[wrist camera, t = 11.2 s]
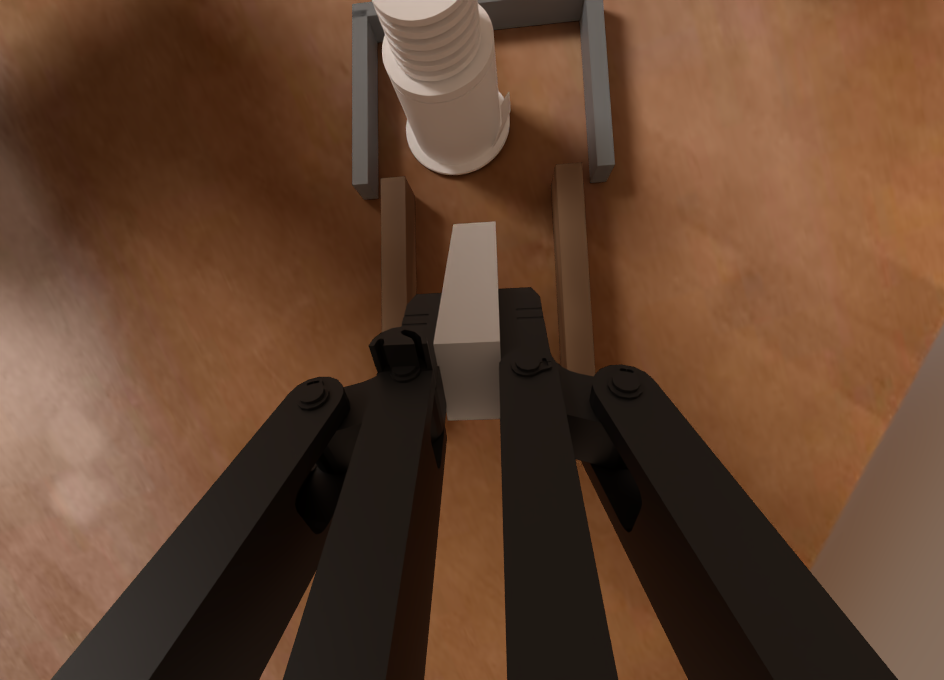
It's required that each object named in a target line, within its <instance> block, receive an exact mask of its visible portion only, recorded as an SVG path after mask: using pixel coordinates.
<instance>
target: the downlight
mask: <svg viewBox="0 0 944 680" xmlns="http://www.w3.org/2000/svg"><path fill="white" fill-rule="evenodd" d="M372 2H373V5H374V7H375V10H376V13H377V15H378V17H379V20H380V23H381V25H382V28H383V30H384V33H385V36H384V40H383V45H382V58H383V63H384V66H385V68H386V71H387V73H388V75H389V78H390V80H391V82H392V85H393V87H394V89H395V92H396V94H397V96H398V98H399V101H400V103H401V105H402V108H403V110H404V112H405V115H406V117H407V124H406V136H407V141H408V144H409V147H410V149H411V151H412V153H413V155H414V156H415V157H416V159H417V160H418V161H419V162H420V163H421V164H422V165H424V166H425V167H426V168H428V169H430V170H432V171H434V172H437V173H440V174H445V175H461V174H467V173H470V172H473V171H476V170H478V169H480V168H482V167H483V166H485V165H486V164H488V163H489V162H490V161H491V160H493V159H494V158H495V157H496V156H497V154H498V153H499V152H500V150H501V149H502V147H503V146H504V144H505V142H506V139H507V136H508V133H509V127H510V116H509V113H510V111H511V107H510V95H509V92H508V93H507V95H506V96H505V98H503V96H502V95H501V93H500V92H499V91H498V82H497V69H496V57H495V45H494V32H493V26H492V23H491V20H490V18H489V16H488V14H487V13H486V11H485V10H484V9H483V8H482V7H481V6H480V5H479V4H478V0H372Z"/></svg>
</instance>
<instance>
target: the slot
mask: <svg viewBox="0 0 944 680" xmlns="http://www.w3.org/2000/svg"><path fill="white" fill-rule="evenodd" d="M551 197H552V215H553V234H554V252H555V270H556V288H557V307H558V325H559V343H560V362H561V366H562V367H563V368H565V369H567V370H569V371H572V372H576V373H579V374H584V375H589V376H594V375H595V359H594V344H593V328H592V312H591V297H590V281H589V265H588V249H587V234H586V218H585V202H584V187H583V171H582V162H581V163H568V164H556V166H555V170H554V174H553V179H552V183H551ZM381 282H382V332H384V331H386V330H389V329H391V328H396V327H401V326H402V320H403V317H404V313H405V310H406V306H407V304H408V303H409V302H410V301H411V300H412V298H413V297H414V296H415V295H416V240H415V195H414V193H413V191H412V189H411V187H410V185H409V183H408V181H407V180H406V178H405V176H403V177H391V178H381Z"/></svg>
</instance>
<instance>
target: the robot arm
mask: <svg viewBox="0 0 944 680" xmlns="http://www.w3.org/2000/svg"><path fill="white" fill-rule="evenodd" d="M369 348H370V351H371V354H372V357H373V360H374V363H375V366H376V369H377V372H378V373H377V376H376V377H374V378H372V379H370V380H367V381H364V382H361V383H358V384H354V385H351V386H347V387H343V385H342V384H341V383H340V382H339V381H338V380H337V379H334V378H331V377H317V378H313V379H310V380H307V381H305V382H303V383H301V384H300V385H298V386H297V387H295V388H294V389H293V390H292V391H291V392H290V393H289V394H288V395H287V396H286V398H285V399H284V400H283V401H282V402H281V404H280V405H279V406H278V407H277V408H276V410H275V411H274V412H273V413H272V414H271V416H270V417H269V418H268V419H267V420H266V422H265V423H264V424H263V425H262V426H261V428H260V429H259V430H258V431H257V432H256V434H255V435H254V436H253V437H252V438H251V440H250V441H249V442H248V443H247V444H246V446H245V447H244V448H243V449H242V450H241V452H240V453H239V454H238V455H237V456H236V458H235V459H234V460H233V461H232V462H231V464H230V465H229V466H228V467H227V468H226V470H225V471H224V472H223V473H222V475H221V476H220V477H219V478H218V479H217V481H216V482H215V483H214V484H213V485H212V487H211V488H210V489H209V490H208V491H207V493H206V494H205V495H204V496H203V497H202V499H201V500H200V501H199V502H198V503H197V505H196V506H195V507H194V508H193V509H192V511H191V512H190V513H189V514H188V515H187V517H186V518H185V519H184V520H183V521H182V523H181V524H180V525H179V526H178V527H177V529H176V530H175V531H174V532H173V533H172V535H171V536H170V537H169V538H168V539H167V541H166V542H165V543H164V544H163V545H162V547H161V548H160V549H159V550H158V551H157V553H156V554H155V555H154V556H153V557H152V559H151V560H150V561H149V562H148V563H147V565H146V566H145V567H144V568H143V569H142V571H141V572H140V573H139V574H138V575H137V577H136V578H135V579H134V580H133V581H132V583H131V584H130V585H129V586H128V587H127V589H126V590H125V591H124V592H123V594H122V595H121V596H120V597H119V598H118V600H117V601H116V602H115V603H114V604H113V606H112V607H111V608H110V609H109V610H108V612H107V613H106V614H105V615H104V616H103V618H102V619H101V620H100V621H99V622H98V624H97V625H96V626H95V627H94V628H93V630H92V631H91V632H90V633H89V634H88V636H87V637H86V638H85V639H84V640H83V642H82V643H81V644H80V645H79V646H78V648H77V649H76V650H75V651H74V652H73V654H72V655H71V656H70V657H69V658H68V660H67V661H66V662H65V663H64V664H63V666H62V667H61V668H60V669H59V670H58V672H57V673H56V674H55V675H54V676H53V678H52V679H51V680H259V679H260V677H261V675H262V673H263V671H264V669H265V667H266V665H267V663H268V662H269V660H270V658H271V656H272V654H273V652H274V650H275V648H276V646H277V644H278V642H279V641H280V639H281V637H282V635H283V633H284V631H285V629H286V627H287V625H288V623H289V621H290V619H291V618H292V616H293V614H294V612H295V610H296V608H297V606H298V604H299V602H300V600H301V598H302V597H303V595H304V593H305V591H306V589H307V587H308V585H309V583H310V581H311V579H312V577H313V576H314V574H315V572H316V574H315V577H314V580H313V583H312V587H311V590H310V593H309V596H308V600H307V603H306V606H305V609H304V613H303V616H302V619H301V622H300V626H299V629H298V632H297V635H296V639H295V642H294V645H293V648H292V652H291V655H290V658H289V661H288V665H287V668H286V671H285V674H284V678H283V680H424V675H425V665H426V654H427V643H428V633H429V622H430V612H431V601H432V591H433V580H434V569H435V559H436V548H437V538H438V527H439V517H440V506H441V495H442V485H443V474H444V464H445V453H446V443H447V435H446V429H445V416H446V412H447V418H448V420H484V419H500V430H501V467H502V504H503V541H504V578H505V615H506V652H507V680H618V676H617V671H616V666H615V661H614V656H613V650H612V645H611V640H610V635H609V630H608V625H607V620H606V614H605V609H604V604H603V599H602V594H601V589H600V584H599V579H598V573H597V568H596V563H595V558H594V553H593V548H592V543H591V537H590V532H589V527H588V522H587V517H586V512H585V507H584V502H583V496H582V491H581V486H580V481H579V476H578V471H577V466H576V461H575V459H577V460H581V461H582V464H583V466H584V468H585V470H586V472H587V474H588V476H589V478H590V480H591V482H592V484H593V486H594V488H595V490H596V492H597V495H598V497H599V499H600V501H601V503H602V505H603V507H604V509H605V511H606V513H607V515H608V517H609V519H610V521H611V523H612V525H613V527H614V529H615V531H616V533H617V535H618V537H619V539H620V541H621V543H622V545H623V547H624V550H625V552H626V554H627V556H628V558H629V560H630V562H631V564H632V566H633V568H634V570H635V572H636V574H637V576H638V578H639V580H640V582H641V584H642V586H643V588H644V590H645V592H646V594H647V596H648V598H649V600H650V602H651V605H652V607H653V609H654V611H655V613H656V615H657V617H658V619H659V621H660V623H661V625H662V627H663V629H664V631H665V633H666V635H667V637H668V639H669V641H670V643H671V645H672V647H673V649H674V651H675V653H676V655H677V657H678V660H679V662H680V664H681V666H682V668H683V670H684V672H685V674H686V676H687V678H688V680H898V679H897V678H896V676H895V675H894V674H893V673H892V672H891V671H890V669H889V668H888V667H887V665H886V664H885V663H884V662H883V661H882V659H881V658H880V657H879V656H878V654H877V653H876V652H875V651H874V650H873V648H872V647H871V646H870V645H869V644H868V642H867V641H866V640H865V639H864V637H863V636H862V635H861V634H860V632H859V631H858V630H857V629H856V627H855V626H854V625H853V624H852V622H851V621H850V620H849V619H848V618H847V616H846V615H845V614H844V613H843V611H842V610H841V609H840V608H839V607H838V605H837V604H836V603H835V602H834V600H833V599H832V598H831V597H830V595H829V594H828V593H827V592H826V591H825V589H824V588H823V587H822V586H821V584H820V583H819V582H818V581H817V579H816V578H815V577H814V576H813V575H812V573H811V572H810V571H809V570H808V568H807V567H806V566H805V565H804V564H803V562H802V561H801V560H800V559H799V557H798V556H797V555H796V554H795V552H794V551H793V550H792V549H791V548H790V546H789V545H788V544H787V543H786V541H785V540H784V539H783V538H782V536H781V535H780V534H779V533H778V532H777V530H776V529H775V528H774V527H773V525H772V524H771V523H770V522H769V521H768V519H767V518H766V517H765V516H764V514H763V513H762V512H761V511H760V509H759V508H758V507H757V506H756V505H755V503H754V502H753V501H752V500H751V498H750V497H749V496H748V495H747V494H746V492H745V491H744V490H743V489H742V487H741V486H740V485H739V484H738V482H737V481H736V480H735V479H734V478H733V476H732V475H731V474H730V473H729V471H728V470H727V469H726V468H725V466H724V465H723V464H722V463H721V462H720V460H719V459H718V458H717V457H716V455H715V454H714V453H713V452H712V451H711V449H710V448H709V447H708V446H707V444H706V443H705V442H704V441H703V439H702V438H701V437H700V436H699V435H698V433H697V432H696V431H695V430H694V428H693V427H692V426H691V425H690V424H689V422H688V421H687V420H686V419H685V417H684V416H683V415H682V414H681V412H680V411H679V410H678V409H677V408H676V406H675V405H674V404H673V403H672V401H671V400H670V399H669V398H668V396H667V395H666V394H665V393H664V392H663V390H662V389H661V388H660V387H659V385H658V384H657V383H656V382H655V381H654V379H652V378H651V377H650V376H649V375H648V374H647V373H646V372H644V371H641V370H639V369H637V368H635V367H632V366H626V365H609V366H607V367H604V368H602V369H600V370H599V371H598V372H597V373H596V374H595V375H594V376H589V375H584V374H579V373H576V372H572V371H569V370H567V369H565V368H563V367H562V366H560V365H559V364H558V363H557V362H556V361H555V360H554V358H553V357H552V356H551V353H550V349H549V344H548V338H547V333H546V328H545V322H544V319H543V311H542V306H541V301H540V296H539V295H538V294H537V293H536V292H535V291H534V290H533V289H532V288H531V287H525V288H506V289H498V268H497V245H496V223H495V222H480V223H465V224H453V230H452V236H451V242H450V248H449V254H448V260H447V266H446V272H445V277H444V283H443V289H442V293H432V294H416V295H415V296H414V297H413V298H412V300H411V301H410V302H409V303H408V304H407V306H406V310H405V313H404V317H403V320H402V326H401V327H396V328H391V329H389V330H386V331H384V332H382V333H380V334H379V335H378V336H376V337H375V338H374V339H373V340H372V342H371V343H370V345H369ZM316 570H317V571H316Z"/></svg>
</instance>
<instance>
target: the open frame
mask: <svg viewBox="0 0 944 680" xmlns="http://www.w3.org/2000/svg"><path fill="white" fill-rule="evenodd" d="M478 4H479V5H480V6H481V7H482V8H483V9H484V10H485V11H486V13H487V14H488V16H489V18H490V20H491V23H492V26H493V30H497V29H506V28H516V27H525V26H534V25H543V24H552V23H561V22H570V21H579V20H580V35H581V50H582V65H583V80H584V95H585V111H586V126H587V141H588V156H589V172H590V183H595V182H606V181H607V179H608V177H609V175H610V173H611V171H612V169H613V167H614V165H615V159H614V145H613V131H612V118H611V104H610V90H609V77H608V63H607V49H606V35H605V22H604V8H603V0H478ZM384 36H385V33H384V30H383V28H382V25H381V23H380V20H379V17H378V15H377V13H376V10H375V7H374V5H373V2H366V3H357V4H352V185H353V186H354V188H355V189H356V190H357V191H358V193H359V194H360V195H361V196H362V198H363V199H364V200H366V199H378V60H377V43H380V42H383V40H384Z"/></svg>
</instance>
